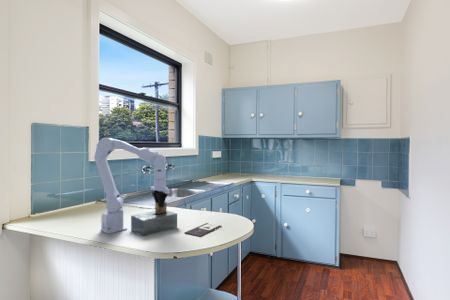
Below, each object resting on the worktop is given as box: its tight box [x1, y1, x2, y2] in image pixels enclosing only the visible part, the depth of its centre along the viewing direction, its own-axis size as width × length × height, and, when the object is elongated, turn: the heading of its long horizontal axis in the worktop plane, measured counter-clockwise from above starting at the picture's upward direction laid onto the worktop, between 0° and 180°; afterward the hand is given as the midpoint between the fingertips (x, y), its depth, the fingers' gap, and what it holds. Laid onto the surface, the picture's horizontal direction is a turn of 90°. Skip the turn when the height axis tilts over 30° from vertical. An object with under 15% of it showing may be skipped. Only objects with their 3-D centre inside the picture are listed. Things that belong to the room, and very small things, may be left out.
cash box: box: [130, 209, 178, 237], centre depth 136 cm, size 18×12×7 cm, turn 135°
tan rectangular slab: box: [154, 201, 167, 214], centre depth 138 cm, size 5×2×5 cm, turn 134°
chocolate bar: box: [184, 222, 222, 238], centre depth 134 cm, size 9×1×18 cm
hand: (159, 206), depth 138 cm, fingers closed on tan rectangular slab, 2 cm apart
